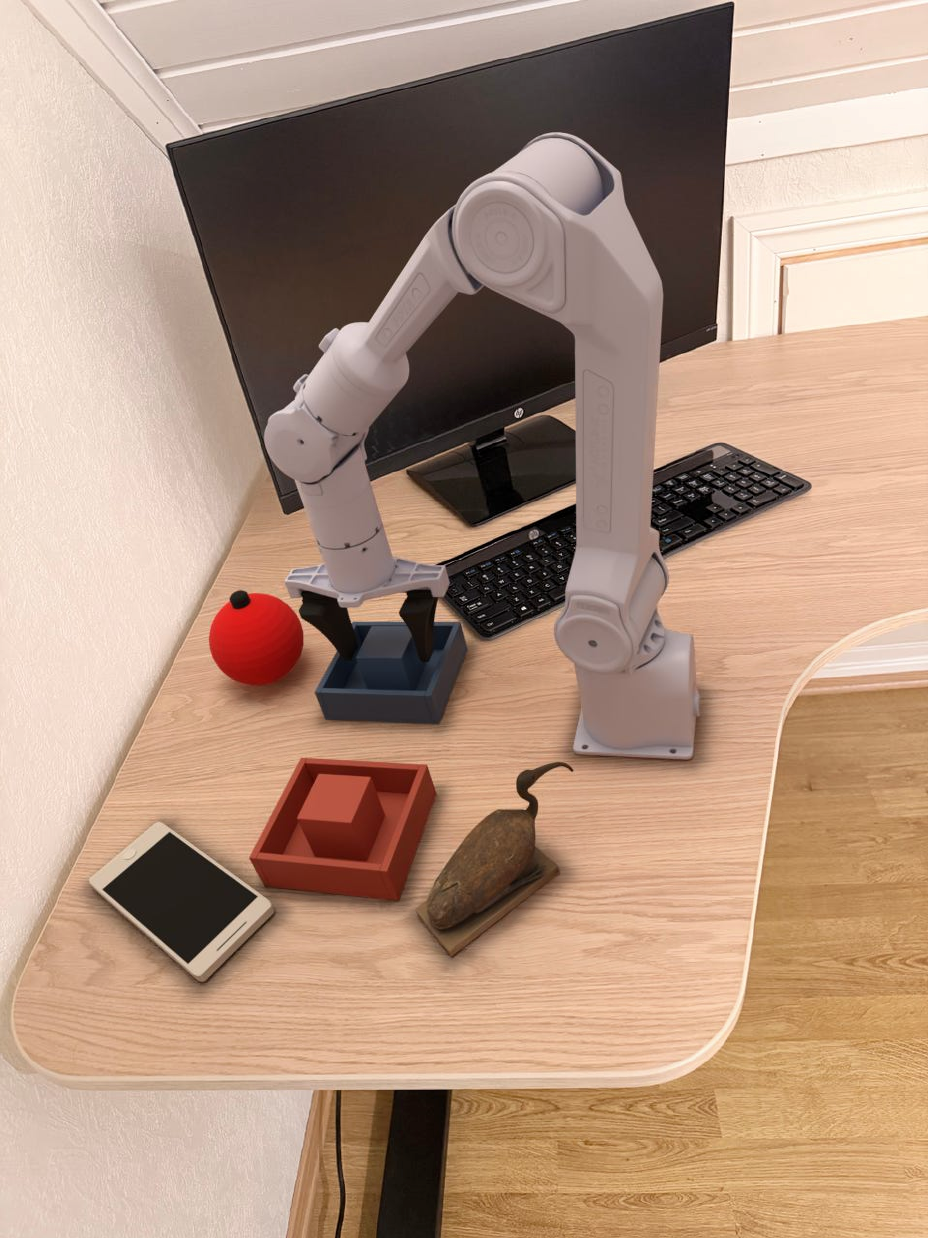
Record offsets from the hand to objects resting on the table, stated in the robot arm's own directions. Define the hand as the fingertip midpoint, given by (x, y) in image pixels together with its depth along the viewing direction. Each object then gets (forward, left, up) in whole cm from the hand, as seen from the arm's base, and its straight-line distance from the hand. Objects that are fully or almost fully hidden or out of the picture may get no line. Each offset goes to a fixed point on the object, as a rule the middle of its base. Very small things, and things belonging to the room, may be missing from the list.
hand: (389, 654), depth 84 cm
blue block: (0, 0, -3) cm, 3 cm away
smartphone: (+10, +25, -4) cm, 27 cm away
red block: (-2, +18, -3) cm, 18 cm away
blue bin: (0, 0, -4) cm, 4 cm away
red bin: (-2, +18, -4) cm, 18 cm away
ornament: (+14, -1, -4) cm, 15 cm away
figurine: (-15, +20, -4) cm, 26 cm away
